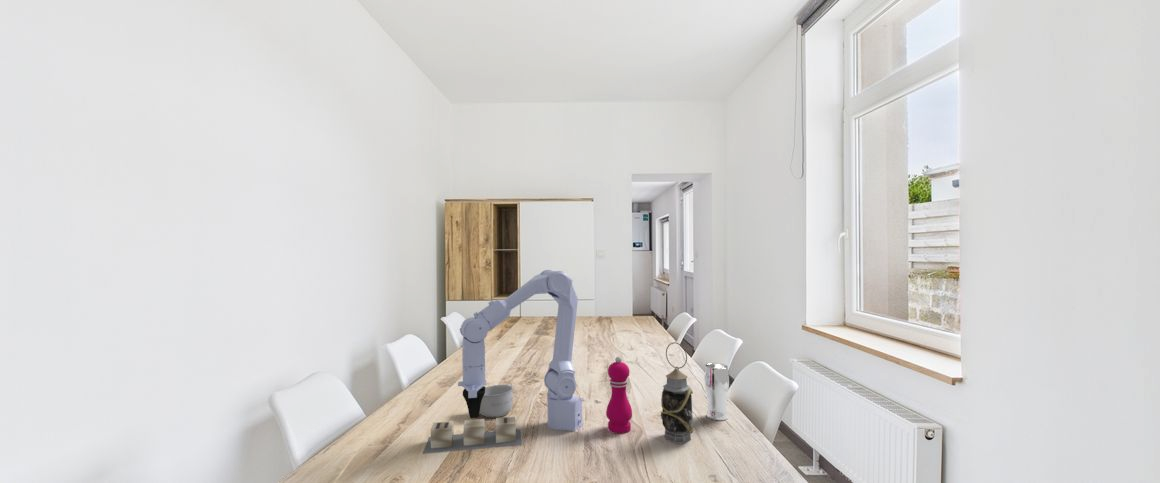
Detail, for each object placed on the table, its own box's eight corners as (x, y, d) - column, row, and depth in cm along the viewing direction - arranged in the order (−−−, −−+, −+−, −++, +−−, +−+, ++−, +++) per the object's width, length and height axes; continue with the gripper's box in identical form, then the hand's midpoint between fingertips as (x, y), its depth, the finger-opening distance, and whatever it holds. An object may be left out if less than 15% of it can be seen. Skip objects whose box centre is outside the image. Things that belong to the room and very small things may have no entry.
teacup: (493, 425, 129) (493, 396, 130) (469, 417, 136) (469, 390, 136) (527, 411, 140) (527, 385, 141) (503, 404, 147) (503, 379, 147)
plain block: (484, 436, 120) (484, 418, 120) (484, 443, 115) (483, 426, 115) (465, 437, 119) (465, 420, 119) (463, 445, 114) (463, 427, 114)
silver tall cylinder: (726, 412, 137) (725, 363, 137) (732, 421, 130) (731, 369, 130) (703, 412, 137) (702, 362, 138) (707, 420, 131) (706, 368, 131)
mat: (520, 432, 124) (520, 429, 124) (522, 448, 114) (522, 444, 114) (429, 439, 120) (429, 436, 120) (422, 456, 110) (422, 453, 110)
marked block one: (515, 433, 121) (514, 416, 121) (515, 441, 116) (515, 423, 116) (496, 435, 120) (495, 417, 120) (495, 442, 115) (495, 424, 115)
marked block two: (453, 438, 118) (453, 420, 118) (451, 446, 113) (451, 428, 113) (433, 440, 117) (433, 422, 118) (430, 448, 112) (430, 429, 113)
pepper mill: (631, 435, 121) (630, 360, 121) (604, 433, 122) (603, 359, 123) (633, 425, 128) (632, 354, 128) (608, 423, 130) (607, 353, 130)
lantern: (700, 438, 118) (698, 342, 119) (681, 447, 113) (680, 347, 113) (673, 429, 125) (671, 338, 125) (654, 437, 119) (653, 342, 120)
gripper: (460, 358, 124) (460, 408, 123) (455, 372, 109) (455, 429, 109) (486, 357, 125) (487, 407, 125) (485, 371, 111) (485, 427, 110)
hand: (474, 417), depth 117 cm, fingers closed
